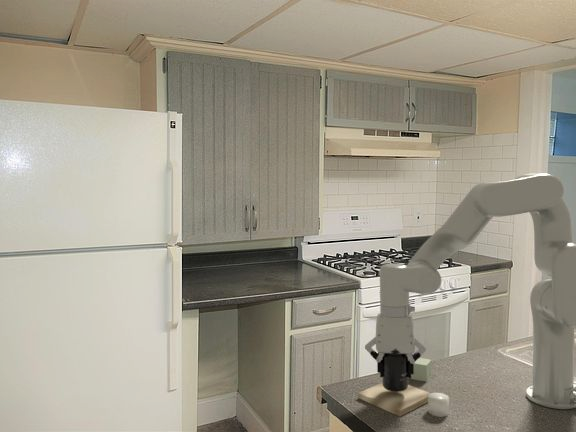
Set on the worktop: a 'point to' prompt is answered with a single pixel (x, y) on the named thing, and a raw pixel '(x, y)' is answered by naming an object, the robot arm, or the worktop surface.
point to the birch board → (395, 398)
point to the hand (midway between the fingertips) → (395, 375)
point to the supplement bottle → (395, 371)
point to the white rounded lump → (438, 404)
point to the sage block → (422, 370)
